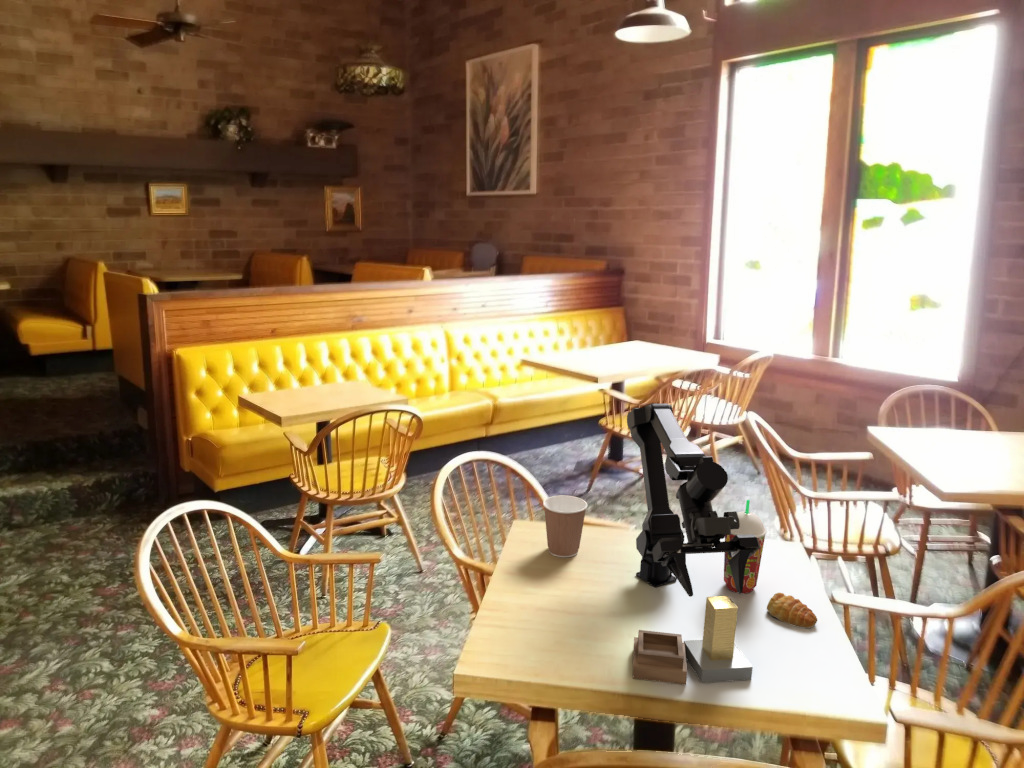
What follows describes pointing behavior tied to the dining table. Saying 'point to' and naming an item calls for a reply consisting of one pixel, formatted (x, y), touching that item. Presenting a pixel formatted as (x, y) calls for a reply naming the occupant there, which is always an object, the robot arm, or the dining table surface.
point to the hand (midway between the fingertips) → (716, 594)
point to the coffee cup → (564, 524)
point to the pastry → (791, 611)
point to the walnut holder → (659, 657)
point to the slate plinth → (717, 664)
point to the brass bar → (719, 628)
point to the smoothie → (751, 526)
